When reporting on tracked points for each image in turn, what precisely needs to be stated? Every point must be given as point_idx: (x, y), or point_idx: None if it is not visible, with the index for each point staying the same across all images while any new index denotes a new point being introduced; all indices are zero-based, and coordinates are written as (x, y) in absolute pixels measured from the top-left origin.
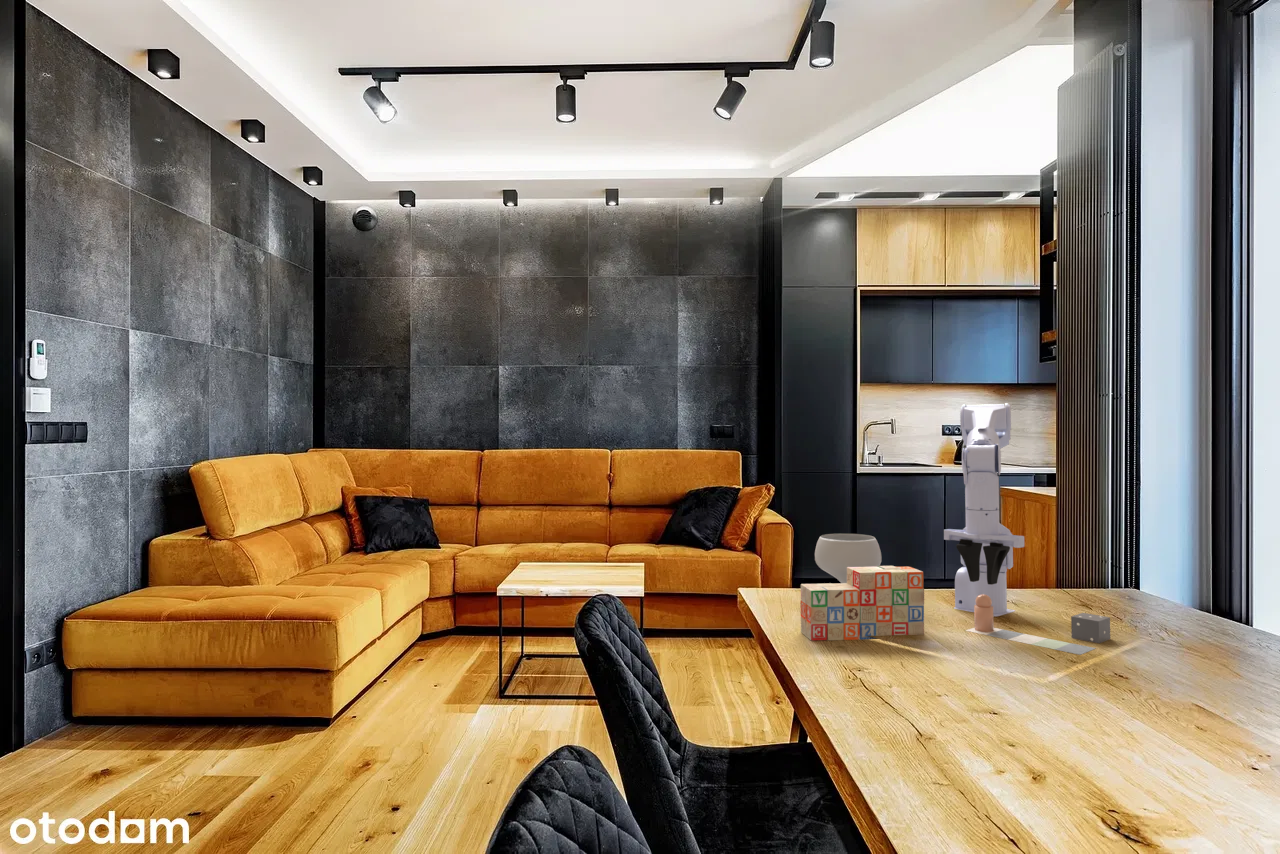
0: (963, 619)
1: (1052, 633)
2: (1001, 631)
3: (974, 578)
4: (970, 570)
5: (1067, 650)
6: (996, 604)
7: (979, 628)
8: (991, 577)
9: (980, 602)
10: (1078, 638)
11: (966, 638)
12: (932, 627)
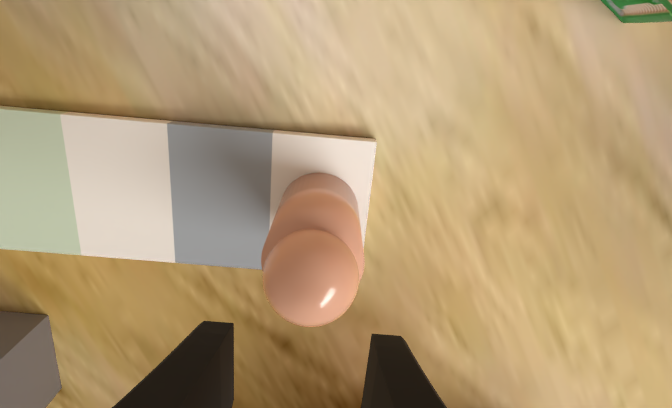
0: (475, 351)
1: (150, 369)
2: (255, 234)
3: (372, 372)
4: (404, 404)
5: None
6: None
7: (321, 176)
8: (164, 360)
9: (308, 235)
10: (11, 322)
11: (335, 60)
12: (536, 142)
